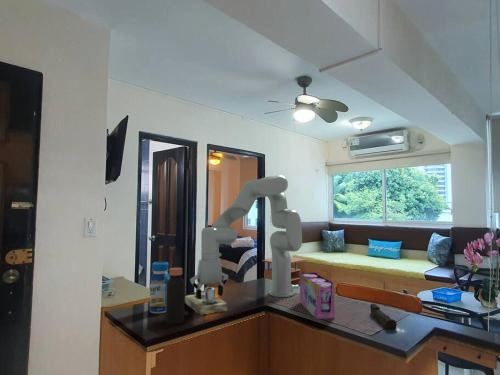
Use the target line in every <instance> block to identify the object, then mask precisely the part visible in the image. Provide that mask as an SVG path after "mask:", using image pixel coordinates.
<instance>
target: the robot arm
mask: <svg viewBox="0 0 500 375" xmlns="http://www.w3.org/2000/svg"><path fill="white" fill-rule="evenodd" d="M288 186H289V182H288V179H287V178H286V177H285V176H284V175H273V176H265V177H262V178H259V179H258V178H257V179H251V180H247V181H245V183H244V184H243V186H242V187H241V189H240V191H239V192H238V194H237V195H236V198H235V199H234V200H233V202H232V204H231V205H230V206H229V207H228V208H226V210H224V211H223V213H221V214H220V215H219V217H218V218H217V219H216V221H215V223H214V225H213V226H212V227H204V228H202V230H201V244H200V245H201V247H200V248H201V251H200V252H201V253H200V254H201V256H200V258H201V259H199V260H198V264H197V273H196V275H194V276H193V277H191V278H190V279H189V281H190V283H191V285H192V286H193V287H194V288H195V295H196V297H197V298H198V299H201V294H202V289H201V288H202V287H203V285H213V284H218V285H217V295H218V296H220V297H222V296H223V293H224V286H225V284H226V283H227V282H228V280H229V279H228V278H229V277H230V276H229V274H226V273H224V272H223V271H222V270H223V269H222V264H221V258H220V257H222V256H223V255H222V253H221V252H220V251H219V250H220V245H221V244H223V245H231V244H233V243H235V242H236V241H237V239H238V232H237V230H236V229H235V228H233V227H230V226H231V225H233V223H234V222H236V221H238V220H239V219H241V218H244V217H246V216H247V215H248V214H249V213H250V212H251V211H250V210H251V209H252V208H253V206H254V204H255V202H256V200H257V198H268V200H269V204H270V218H271V219H270V220H271V223H272V224H271V225H272V226H273V227H274V228H276V229H281V230H277V231H276V230H275V231H274V232H272V233H271V235H270V237H269V244H270V245H269V246H270V249H271V289H270V290H269V291H268V294H269V295H270V296H272V297H276V298H277V297H278V298H288V297H292V296H294V295H295V292H294V290H297V289H300V285H299V284H292V270H291V269H292V268H291V267H292V261H291V260H292V259H291V254H290V252H298V251H300V249H301V248H302V244H303V232H302V220H301V216H300V214H299V213H298V212H297V211H296V210H294V209H288V202H287V197H286V195H285V193H284V192H286V190H287V189H288ZM196 282H197V283H196Z"/></svg>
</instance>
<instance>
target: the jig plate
mask: <svg viewBox="0 0 500 375" xmlns="http://www.w3.org/2000/svg"><path fill="white" fill-rule="evenodd" d="M184 304H186V305H187V306H188V307H189V308H190V309H192V310H193V311H194V310H195V313H197V314H198V313H199V314H200V315H199V314H198V315H199V316H204V315H203V314H206V315H209V314H208V313H212V314H215V313H214V312H217V313H221V312H222V311H223V312H228V303H227V302H225V301H224V300H222V299H221V298H219V297H218V296H216V295H215V304H211V305H205V292H203V293H201V299H198V298H197V297H196V294H189V295H185V296H184Z"/></svg>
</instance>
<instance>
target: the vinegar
mask: <svg viewBox="0 0 500 375" xmlns="http://www.w3.org/2000/svg"><path fill="white" fill-rule="evenodd" d="M168 271H169V272H168V274H169V276H170V279H169V280H168V281H167V296H166V312H165V313H166V314H165V316H166V317H165V323H166V324H167V325H170V326H171V325H172V326H173V325H175V326H176V325H180V324H182V323H184V321H185V296H186V295H185V292H186V291H185V288H186V287H185V282H186V281H185V280H184V278H182V276H183V267H170V268H168Z"/></svg>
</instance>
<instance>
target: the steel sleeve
mask: <svg viewBox="0 0 500 375" xmlns="http://www.w3.org/2000/svg"><path fill="white" fill-rule="evenodd" d="M204 293H205V305H211V304H215V296H216V287H214V286H207V287H205V288H204Z"/></svg>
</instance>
